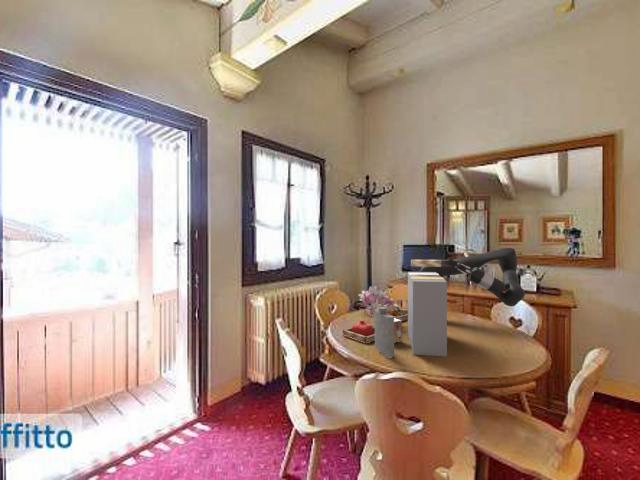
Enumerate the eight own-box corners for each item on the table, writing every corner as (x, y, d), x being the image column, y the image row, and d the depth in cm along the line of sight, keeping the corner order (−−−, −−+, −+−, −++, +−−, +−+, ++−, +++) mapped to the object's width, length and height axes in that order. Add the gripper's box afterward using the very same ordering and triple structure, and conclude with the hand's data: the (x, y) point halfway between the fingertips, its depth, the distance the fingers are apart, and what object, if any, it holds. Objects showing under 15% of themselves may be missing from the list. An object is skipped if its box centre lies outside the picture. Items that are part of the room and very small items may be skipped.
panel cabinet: (435, 333, 175) (435, 271, 174) (446, 356, 144) (447, 281, 143) (407, 332, 178) (407, 271, 177) (413, 354, 147) (412, 280, 146)
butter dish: (346, 336, 173) (346, 320, 172) (361, 331, 181) (361, 315, 180) (363, 341, 164) (363, 324, 164) (378, 336, 172) (378, 320, 172)
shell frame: (363, 314, 215) (363, 309, 215) (383, 309, 228) (383, 305, 228) (397, 323, 195) (397, 317, 195) (417, 316, 208) (417, 312, 208)
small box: (389, 344, 159) (389, 322, 159) (381, 341, 164) (381, 319, 164) (402, 341, 163) (402, 320, 163) (394, 338, 168) (394, 317, 168)
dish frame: (341, 335, 173) (341, 329, 173) (363, 329, 184) (363, 323, 184) (366, 344, 160) (366, 338, 160) (388, 336, 171) (388, 331, 170)
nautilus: (408, 321, 200) (384, 324, 198) (395, 310, 221) (373, 312, 219) (408, 308, 200) (383, 311, 197) (394, 298, 221) (372, 301, 218)
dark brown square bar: (457, 266, 165) (457, 259, 165) (458, 266, 162) (458, 260, 162) (410, 265, 169) (410, 259, 169) (411, 266, 166) (411, 260, 166)
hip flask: (395, 358, 143) (395, 311, 142) (386, 359, 142) (386, 311, 141) (380, 345, 158) (379, 303, 158) (372, 346, 157) (371, 303, 157)
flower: (412, 326, 183) (400, 282, 193) (382, 329, 170) (371, 282, 180) (387, 334, 198) (376, 293, 207) (358, 337, 185) (348, 293, 195)
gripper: (480, 269, 168) (449, 252, 171) (489, 273, 155) (455, 254, 157) (472, 282, 169) (441, 265, 172) (480, 287, 156) (446, 268, 158)
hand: (448, 260), depth 164 cm, fingers closed on dark brown square bar, 3 cm apart
